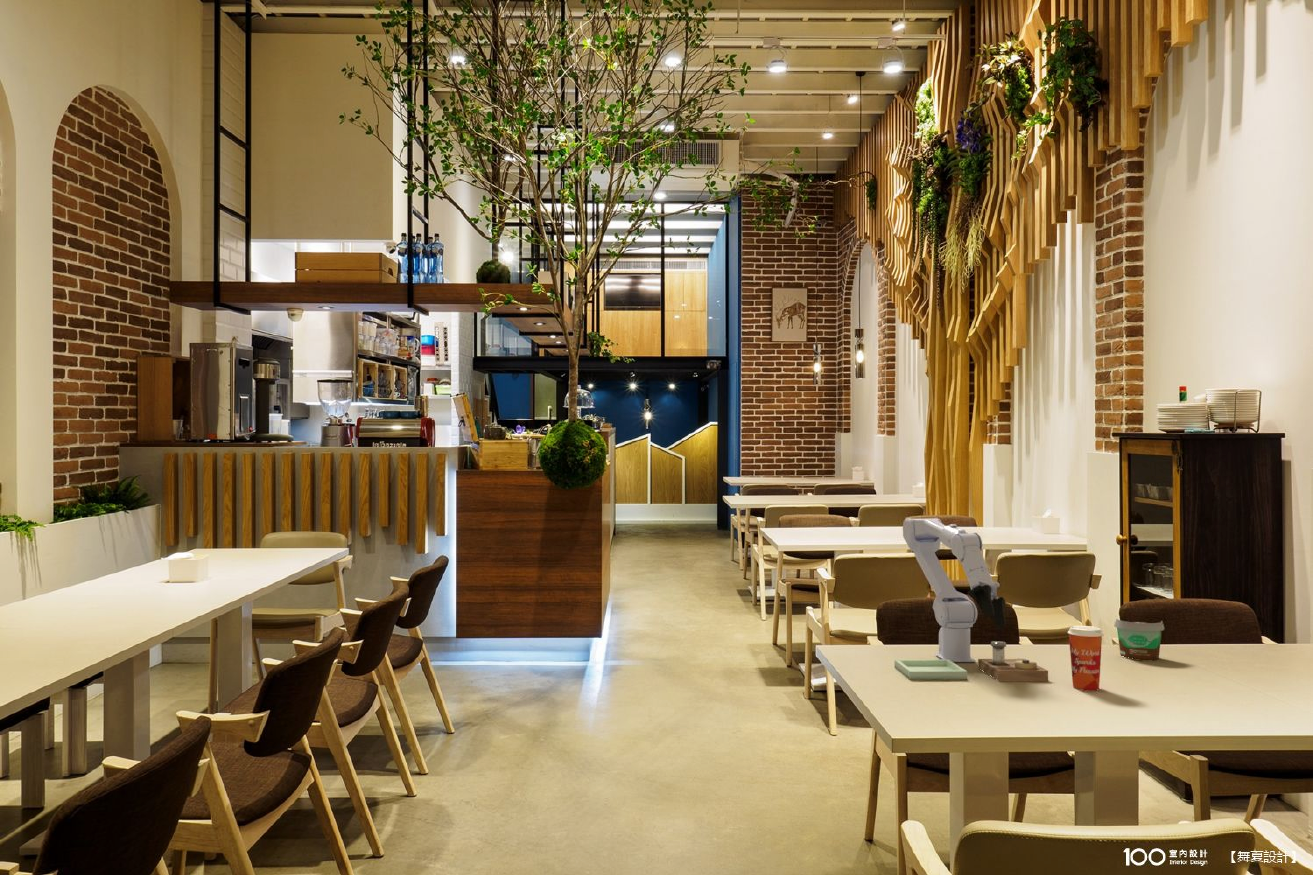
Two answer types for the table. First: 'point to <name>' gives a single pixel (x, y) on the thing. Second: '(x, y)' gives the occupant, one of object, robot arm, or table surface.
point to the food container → (1139, 639)
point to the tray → (930, 669)
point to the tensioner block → (1014, 670)
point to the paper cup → (1085, 656)
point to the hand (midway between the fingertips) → (995, 620)
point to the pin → (998, 653)
